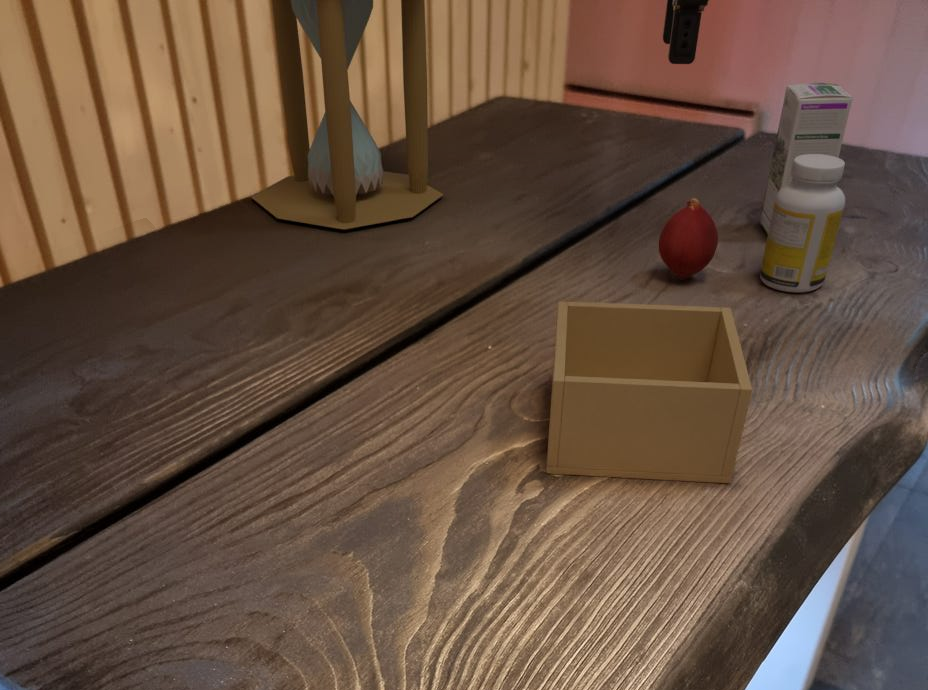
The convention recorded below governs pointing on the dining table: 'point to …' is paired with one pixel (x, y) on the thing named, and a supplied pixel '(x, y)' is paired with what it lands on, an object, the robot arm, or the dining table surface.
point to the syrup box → (805, 133)
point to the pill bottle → (804, 225)
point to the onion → (688, 240)
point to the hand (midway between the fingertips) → (677, 52)
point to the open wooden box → (647, 392)
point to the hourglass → (347, 122)
